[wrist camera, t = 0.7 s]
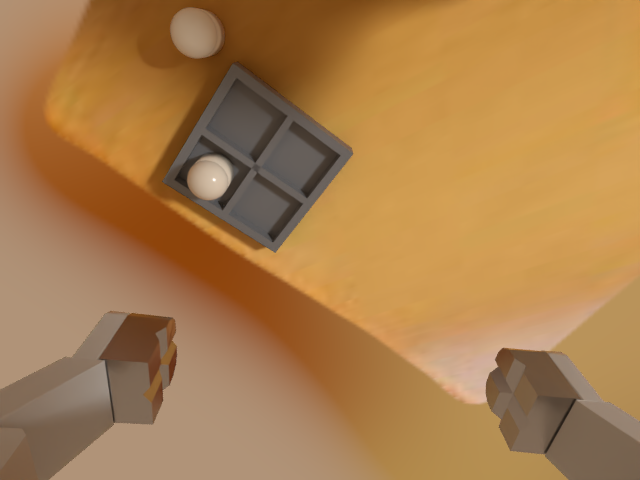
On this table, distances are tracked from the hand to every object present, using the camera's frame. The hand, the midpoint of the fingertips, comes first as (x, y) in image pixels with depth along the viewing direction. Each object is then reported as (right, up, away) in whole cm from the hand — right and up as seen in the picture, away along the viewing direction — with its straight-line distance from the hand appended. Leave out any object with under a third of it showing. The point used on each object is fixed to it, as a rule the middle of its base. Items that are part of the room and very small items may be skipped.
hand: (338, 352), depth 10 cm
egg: (-13, +24, +32) cm, 42 cm away
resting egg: (-13, +11, +38) cm, 41 cm away
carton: (-8, +12, +38) cm, 41 cm away
